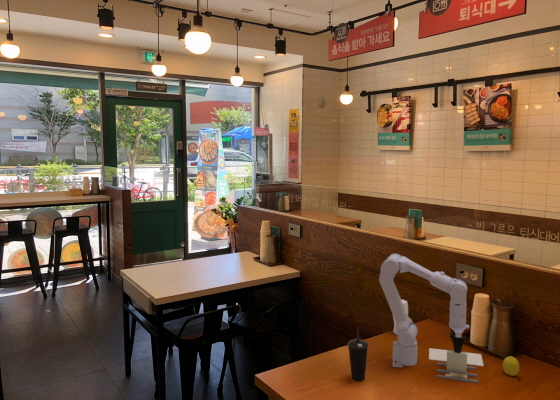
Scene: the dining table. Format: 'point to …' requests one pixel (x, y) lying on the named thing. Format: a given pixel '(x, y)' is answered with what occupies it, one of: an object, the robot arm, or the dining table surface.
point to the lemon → (511, 366)
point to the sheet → (457, 361)
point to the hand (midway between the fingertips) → (457, 348)
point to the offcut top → (458, 375)
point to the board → (442, 356)
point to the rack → (456, 372)
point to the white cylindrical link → (406, 312)
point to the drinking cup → (358, 357)
